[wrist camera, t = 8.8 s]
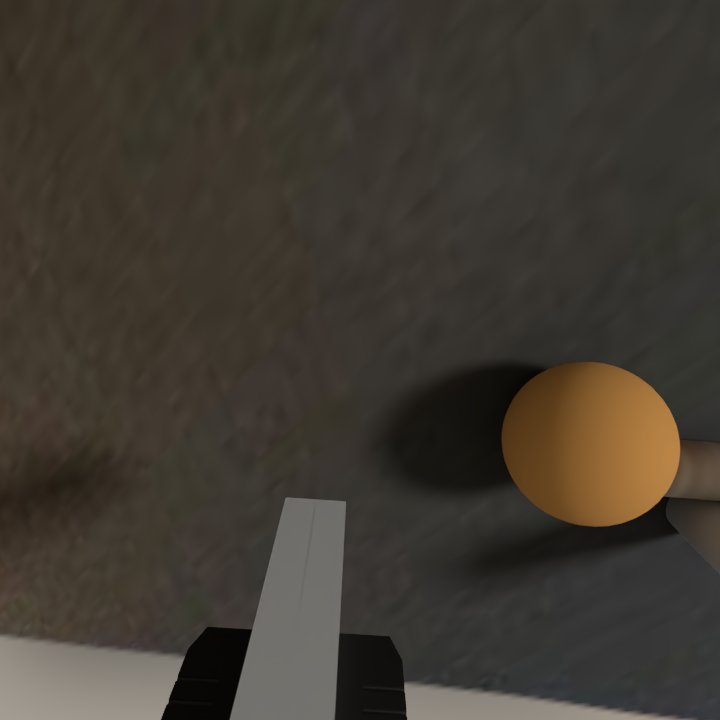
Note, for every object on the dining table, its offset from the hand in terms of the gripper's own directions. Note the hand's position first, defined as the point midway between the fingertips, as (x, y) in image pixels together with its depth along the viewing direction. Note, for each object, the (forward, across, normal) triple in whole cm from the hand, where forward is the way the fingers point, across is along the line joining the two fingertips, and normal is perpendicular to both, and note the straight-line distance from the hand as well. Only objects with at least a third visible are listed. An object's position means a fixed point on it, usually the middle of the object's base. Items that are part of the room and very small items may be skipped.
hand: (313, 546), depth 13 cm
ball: (+6, +10, 0) cm, 11 cm away
